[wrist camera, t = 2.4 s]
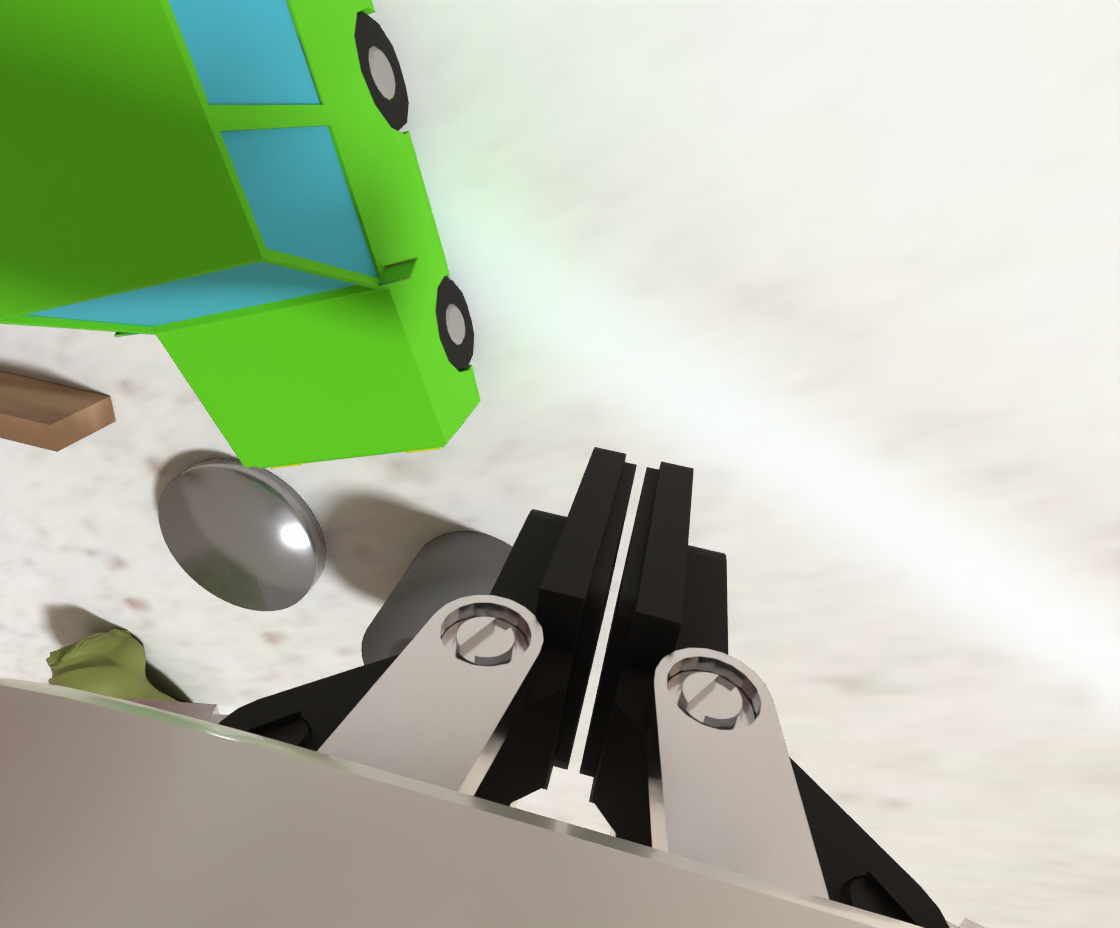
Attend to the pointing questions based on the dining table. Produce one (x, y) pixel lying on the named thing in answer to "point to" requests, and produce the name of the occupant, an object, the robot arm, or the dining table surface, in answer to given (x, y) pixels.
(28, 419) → the bay
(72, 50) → the toy car
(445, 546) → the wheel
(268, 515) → the shallow metal dish
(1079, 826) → the dining table surface
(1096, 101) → the dining table surface
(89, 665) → the pear
